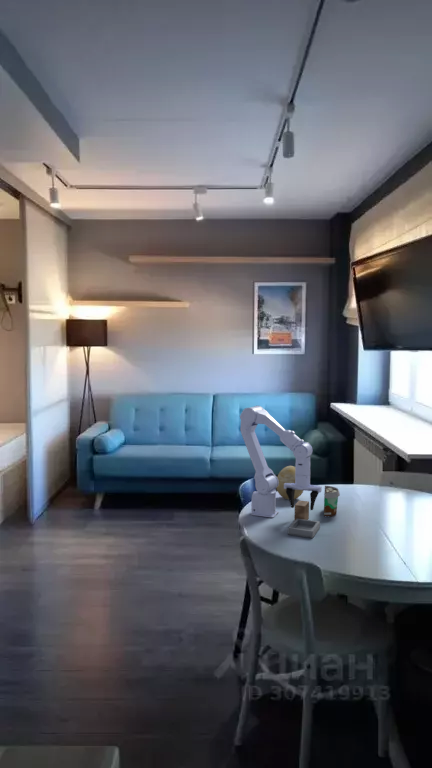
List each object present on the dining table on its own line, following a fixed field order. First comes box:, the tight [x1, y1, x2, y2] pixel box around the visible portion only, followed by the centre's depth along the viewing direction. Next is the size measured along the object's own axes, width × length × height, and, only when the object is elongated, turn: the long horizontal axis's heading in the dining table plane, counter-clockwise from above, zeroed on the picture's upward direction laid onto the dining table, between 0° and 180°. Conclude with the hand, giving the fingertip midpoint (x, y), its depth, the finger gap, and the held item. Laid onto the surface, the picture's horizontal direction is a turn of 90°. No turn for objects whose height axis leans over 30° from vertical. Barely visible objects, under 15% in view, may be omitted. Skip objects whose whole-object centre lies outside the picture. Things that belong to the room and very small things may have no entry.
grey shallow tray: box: [287, 519, 321, 539], centre depth 211 cm, size 9×12×2 cm
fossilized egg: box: [276, 465, 305, 501], centre depth 253 cm, size 13×13×15 cm
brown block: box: [293, 500, 310, 522], centre depth 224 cm, size 4×7×7 cm, turn 158°
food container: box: [323, 485, 341, 518], centre depth 233 cm, size 12×6×10 cm, turn 168°
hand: (302, 508), depth 223 cm, fingers open, 7 cm apart
